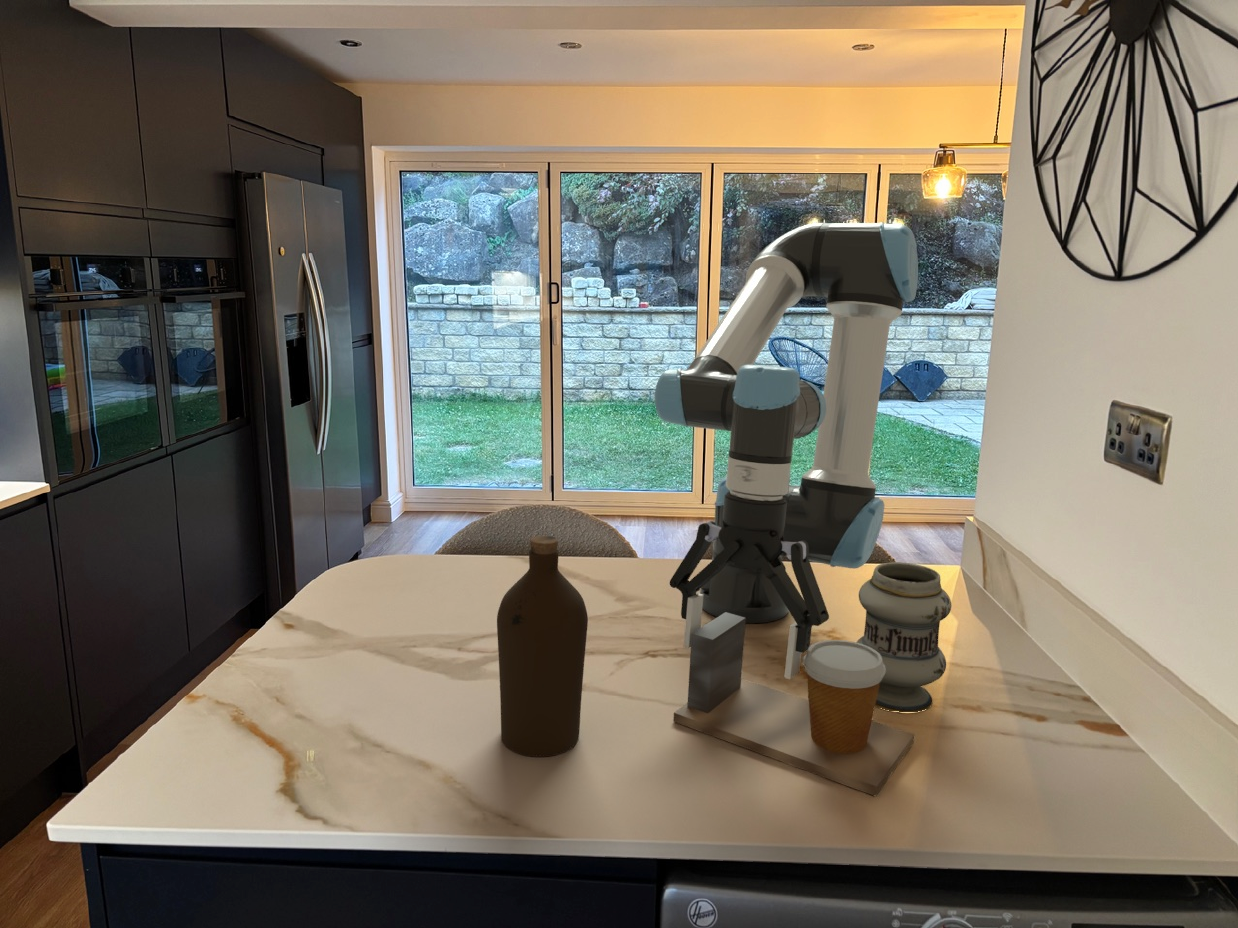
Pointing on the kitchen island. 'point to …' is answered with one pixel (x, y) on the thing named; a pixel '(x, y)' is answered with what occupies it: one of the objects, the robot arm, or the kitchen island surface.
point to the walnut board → (774, 714)
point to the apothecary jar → (905, 632)
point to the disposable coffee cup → (842, 693)
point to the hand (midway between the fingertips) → (739, 660)
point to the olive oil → (541, 656)
